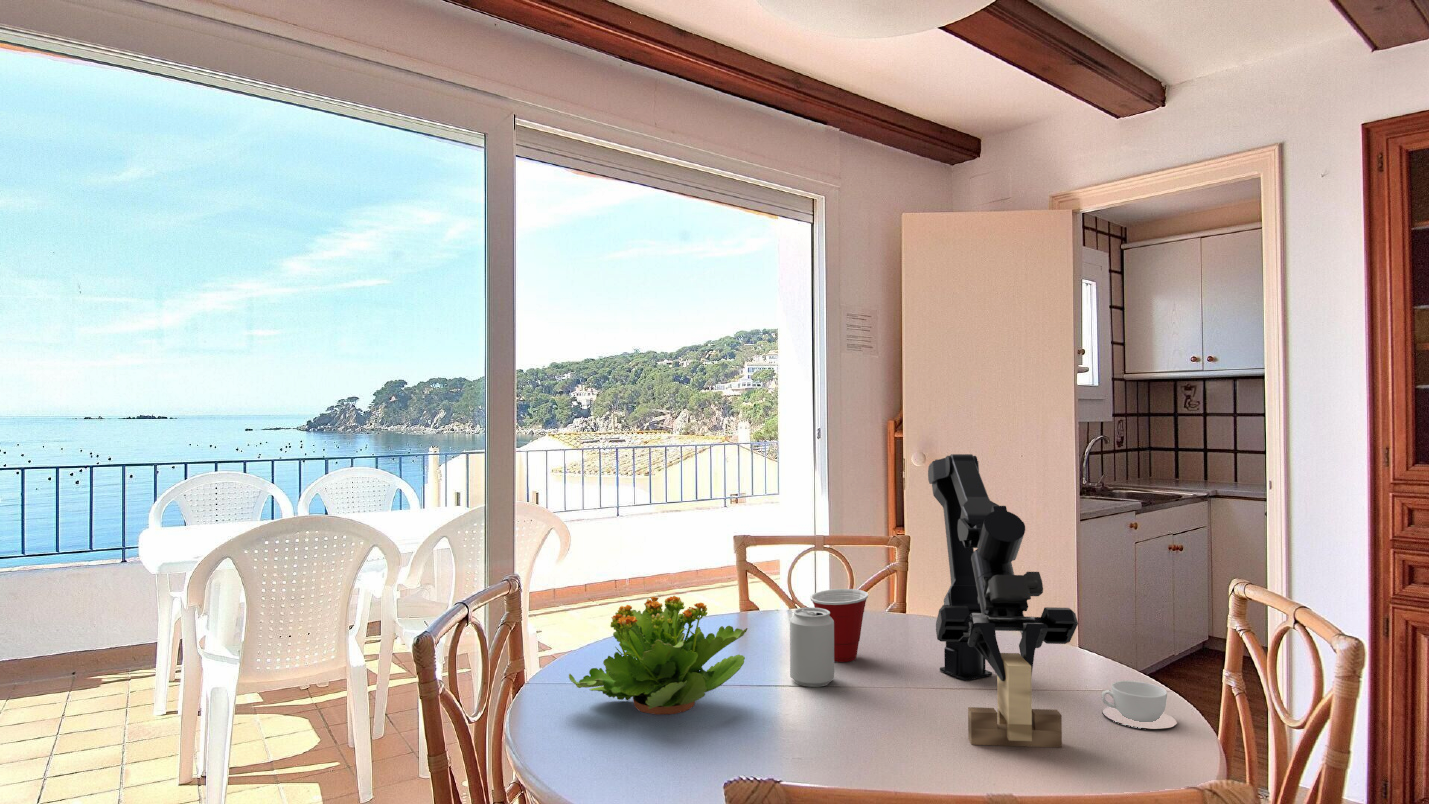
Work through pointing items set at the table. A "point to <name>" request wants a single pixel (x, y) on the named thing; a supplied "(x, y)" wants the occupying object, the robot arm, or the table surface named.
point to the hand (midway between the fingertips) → (1016, 680)
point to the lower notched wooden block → (991, 733)
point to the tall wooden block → (1015, 697)
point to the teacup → (1137, 700)
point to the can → (812, 647)
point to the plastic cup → (843, 619)
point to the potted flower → (663, 658)
